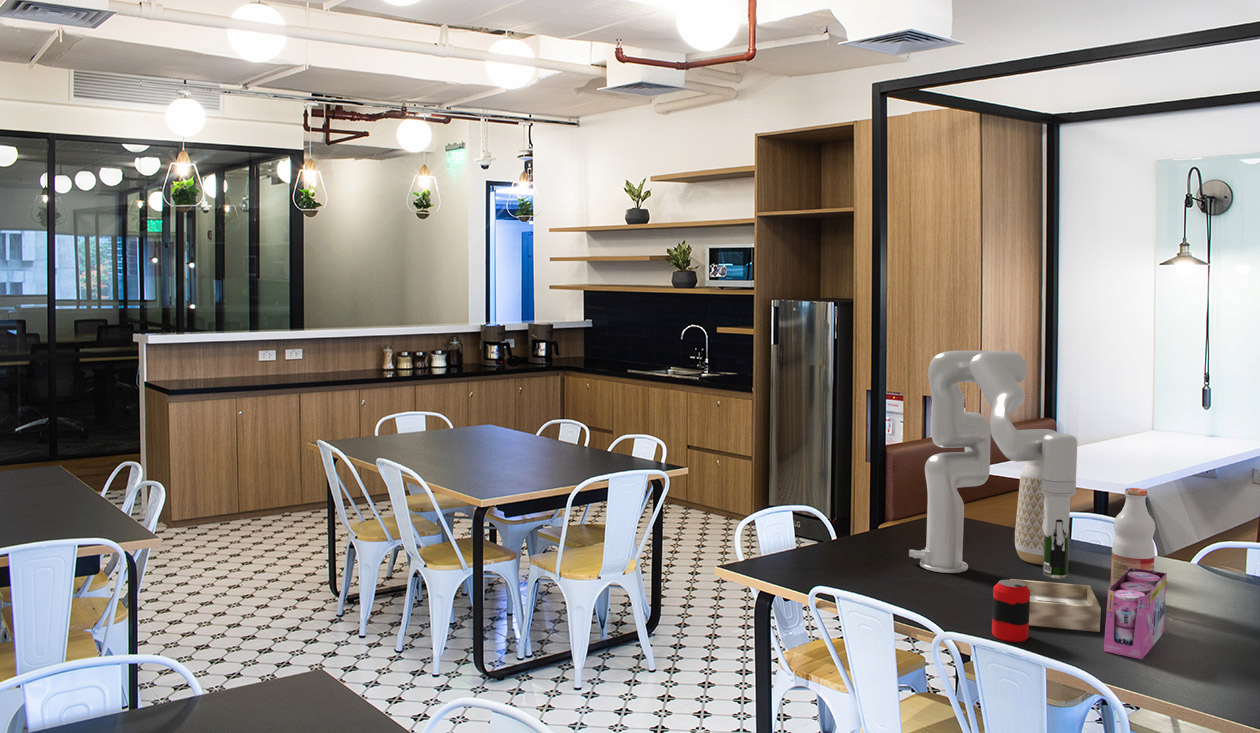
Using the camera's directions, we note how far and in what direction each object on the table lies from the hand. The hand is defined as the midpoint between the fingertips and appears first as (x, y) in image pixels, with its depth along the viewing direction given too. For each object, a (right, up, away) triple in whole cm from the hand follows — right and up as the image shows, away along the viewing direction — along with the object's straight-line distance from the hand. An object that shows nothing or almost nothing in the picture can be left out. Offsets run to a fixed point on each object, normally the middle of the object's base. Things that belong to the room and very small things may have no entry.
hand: (1055, 563), depth 243 cm
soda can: (-16, -14, -13) cm, 25 cm away
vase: (+16, -9, +50) cm, 53 cm away
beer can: (0, -3, 0) cm, 3 cm away
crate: (0, -13, +1) cm, 13 cm away
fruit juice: (+24, -12, +12) cm, 29 cm away
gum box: (+11, -14, -16) cm, 24 cm away
